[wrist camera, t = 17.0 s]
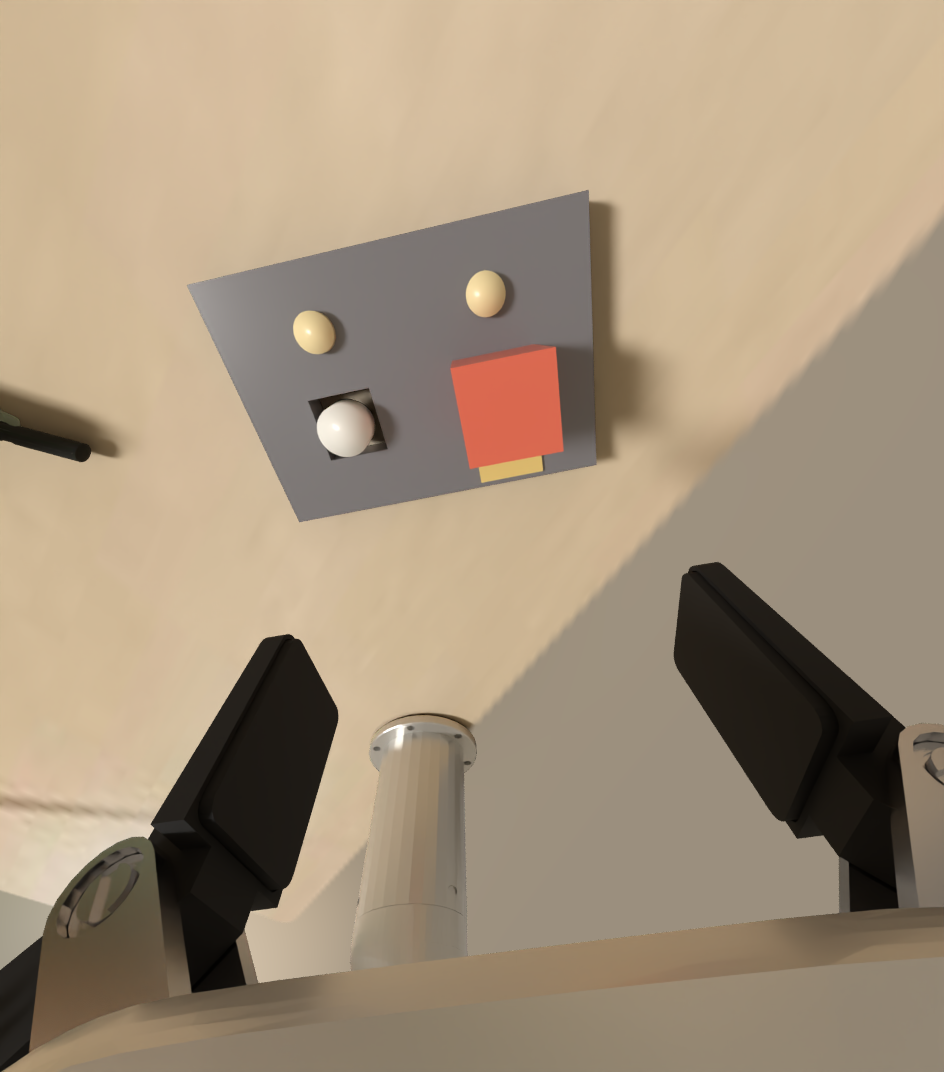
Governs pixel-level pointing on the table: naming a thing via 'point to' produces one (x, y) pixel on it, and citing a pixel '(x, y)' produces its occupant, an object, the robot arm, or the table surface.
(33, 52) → the table surface
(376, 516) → the table surface
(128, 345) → the table surface
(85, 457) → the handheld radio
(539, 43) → the table surface
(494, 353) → the cap
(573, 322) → the panel
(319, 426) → the white egg
